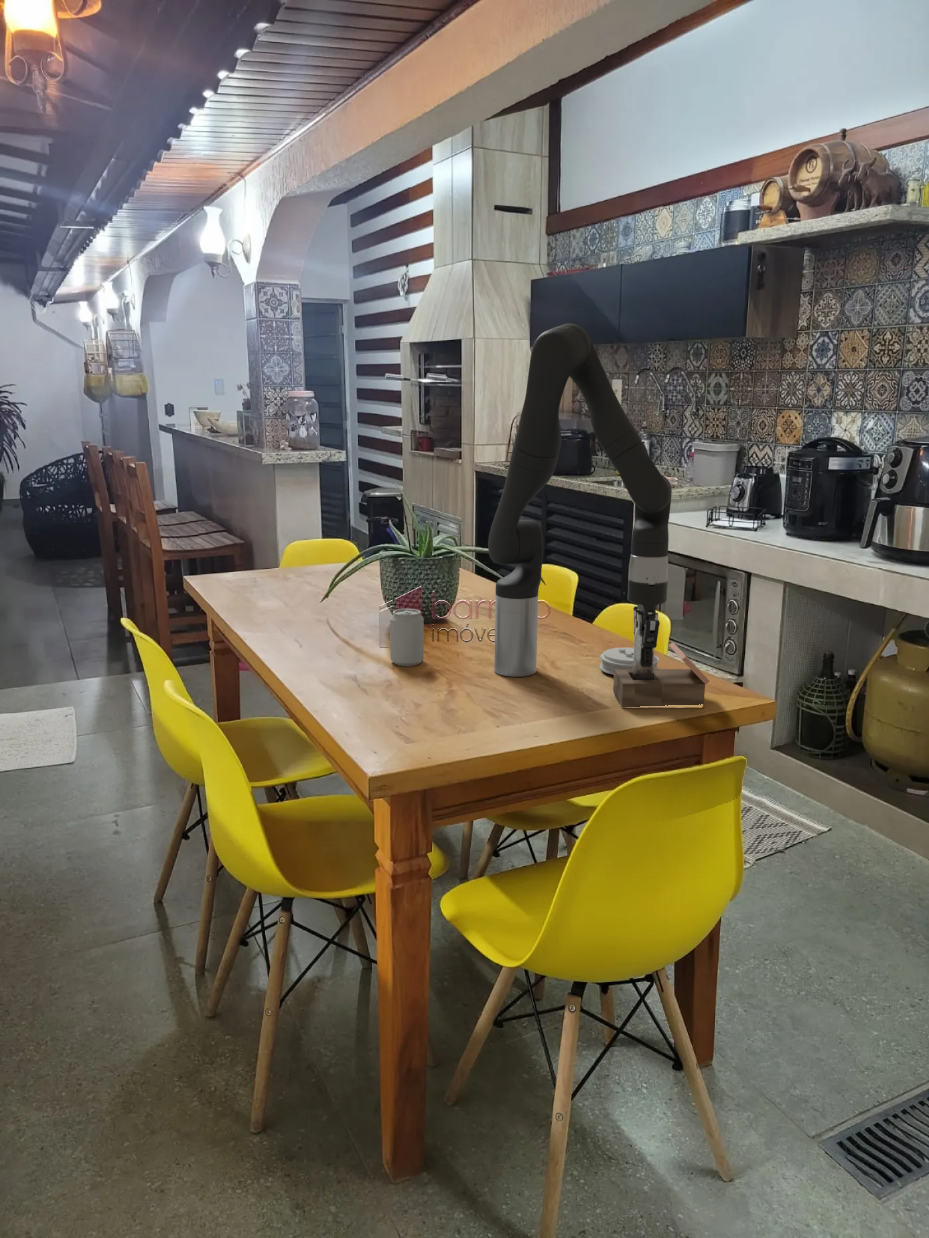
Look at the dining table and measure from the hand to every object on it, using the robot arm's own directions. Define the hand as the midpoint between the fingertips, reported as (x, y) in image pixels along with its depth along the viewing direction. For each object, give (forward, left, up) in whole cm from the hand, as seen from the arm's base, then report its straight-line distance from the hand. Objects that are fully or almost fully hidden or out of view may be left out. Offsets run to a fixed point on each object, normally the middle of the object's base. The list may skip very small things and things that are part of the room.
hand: (643, 662), depth 190 cm
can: (-27, -48, -8) cm, 56 cm away
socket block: (0, +3, -8) cm, 8 cm away
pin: (0, 0, -4) cm, 4 cm away
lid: (-20, +1, -8) cm, 22 cm away
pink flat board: (0, +9, 0) cm, 9 cm away
